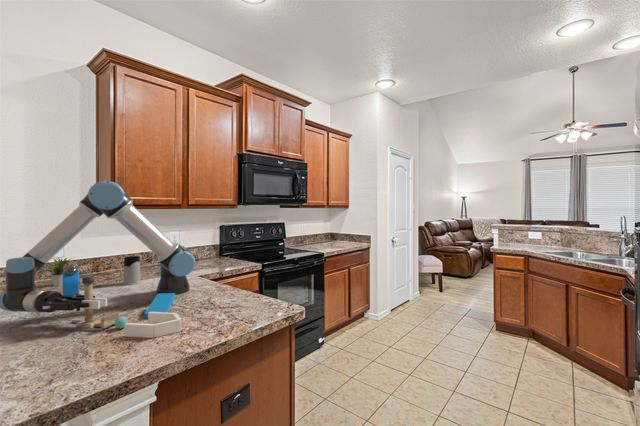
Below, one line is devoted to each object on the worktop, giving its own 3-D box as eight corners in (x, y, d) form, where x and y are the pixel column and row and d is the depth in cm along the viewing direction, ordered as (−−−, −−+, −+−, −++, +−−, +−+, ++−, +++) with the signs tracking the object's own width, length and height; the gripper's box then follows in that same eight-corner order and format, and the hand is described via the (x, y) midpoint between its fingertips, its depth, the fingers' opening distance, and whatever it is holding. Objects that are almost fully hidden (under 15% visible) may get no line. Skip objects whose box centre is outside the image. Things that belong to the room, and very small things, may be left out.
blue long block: (165, 328, 119) (178, 302, 136) (163, 312, 117) (177, 288, 135) (146, 329, 118) (162, 303, 135) (144, 313, 116) (160, 289, 133)
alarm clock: (64, 294, 151) (63, 264, 151) (79, 292, 155) (79, 263, 155) (62, 300, 141) (62, 268, 140) (79, 298, 144) (79, 266, 144)
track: (55, 329, 106) (55, 327, 106) (73, 322, 113) (73, 319, 113) (101, 331, 104) (101, 329, 104) (117, 324, 111) (117, 321, 111)
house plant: (84, 282, 178) (84, 254, 178) (62, 288, 164) (61, 257, 164) (62, 281, 179) (61, 254, 179) (38, 287, 165) (37, 257, 165)
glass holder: (131, 285, 168) (130, 258, 168) (112, 283, 173) (112, 257, 173) (144, 282, 177) (144, 256, 177) (126, 280, 181) (126, 255, 181)
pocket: (124, 336, 100) (124, 324, 100) (150, 322, 112) (150, 311, 112) (169, 338, 98) (169, 326, 98) (190, 324, 110) (190, 313, 110)
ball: (127, 325, 110) (127, 314, 110) (128, 328, 107) (128, 317, 107) (114, 327, 107) (113, 316, 107) (114, 331, 104) (114, 319, 104)
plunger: (73, 329, 106) (72, 279, 106) (89, 322, 112) (88, 275, 112) (104, 330, 104) (103, 280, 104) (118, 323, 111) (118, 276, 110)
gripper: (64, 305, 118) (119, 307, 116) (20, 319, 103) (83, 322, 100) (64, 285, 118) (119, 287, 116) (20, 297, 103) (83, 299, 100)
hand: (102, 303), depth 108 cm, fingers closed on plunger, 2 cm apart
